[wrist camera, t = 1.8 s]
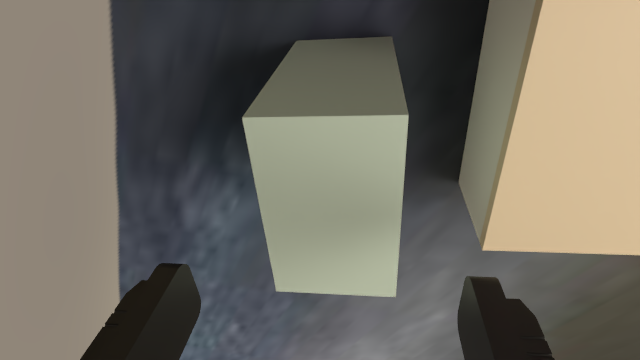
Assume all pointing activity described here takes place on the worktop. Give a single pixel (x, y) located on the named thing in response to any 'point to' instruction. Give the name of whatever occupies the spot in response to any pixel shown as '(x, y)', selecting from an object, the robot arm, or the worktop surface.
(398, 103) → the sage carton
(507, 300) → the robot arm
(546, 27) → the podium
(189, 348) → the worktop surface
